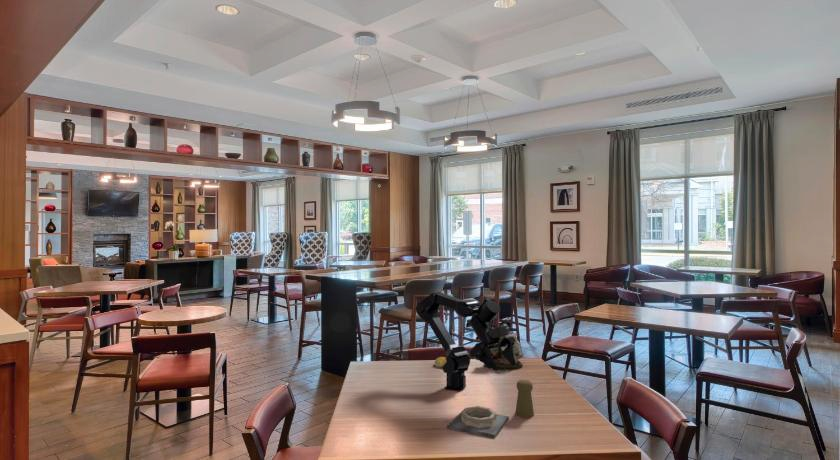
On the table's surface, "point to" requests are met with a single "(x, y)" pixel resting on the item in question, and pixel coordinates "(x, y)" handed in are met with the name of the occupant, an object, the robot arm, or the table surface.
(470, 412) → the socket
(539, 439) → the table surface
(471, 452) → the table surface
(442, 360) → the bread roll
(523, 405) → the cork
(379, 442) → the table surface
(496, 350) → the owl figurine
